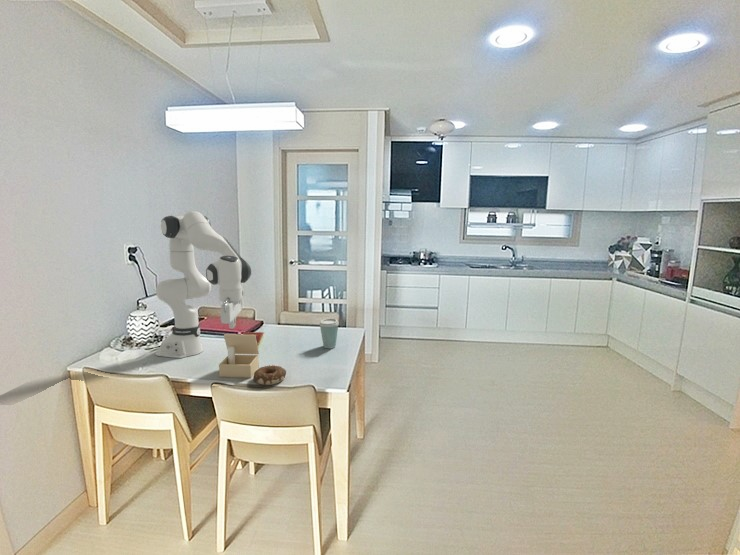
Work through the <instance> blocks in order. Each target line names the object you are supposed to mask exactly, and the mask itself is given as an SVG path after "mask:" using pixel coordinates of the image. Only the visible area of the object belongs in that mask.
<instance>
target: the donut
mask: <svg viewBox="0 0 740 555" xmlns="http://www.w3.org/2000/svg"><path fill="white" fill-rule="evenodd" d="M286 375H287V371H286V369H285V368H283V367H281V366H279V365H273V364H272V365H270V364H269V365H264V366H261V367H260V368H258V369H257V370H256V371H255V373H254V375H253V376H252V377H253V381H254V382H255V383H257V384H259V385H262V386H271V385H277V384H278V383H280V382H282V381H283V380H284V379H286Z"/></svg>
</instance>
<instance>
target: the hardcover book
mask: <svg viewBox="0 0 740 555" xmlns="http://www.w3.org/2000/svg"><path fill="white" fill-rule="evenodd" d="M264 334H265V332H264V331H260V332H258V331H255V332H253V331H252V332H243V333H242V334H241V335H255V336H256V341H257V346H258V351H259V350H260V348H261V345H262V343H263V341H264Z"/></svg>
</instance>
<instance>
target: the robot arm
mask: <svg viewBox="0 0 740 555" xmlns="http://www.w3.org/2000/svg"><path fill="white" fill-rule="evenodd" d="M160 230H161V232H162V234H163V236H164V237H165V238H168V239H169V244H168V245H169V248H168V249H169V262H170V263H169V264H170V267H171V268H172V269H173V270H174V271H176V272H180V273H182V274H183V275H184V277H182V278H180V277H179V278H170V279H166V280H162V281H160V282H158V284H157V285H156V288H155V293H156V296H157V298H158V299H159V300H160V301H161V302H163V303H165V304H167V305H168V306H169V308H170V309H171V311H172V313H173V317H174V318H173V319H174V326H172V327H171V328H170V329H169V330H170V332H172V333H171V334H169V335H168V336H167V337H166V338H164V339H163V340H162V341H161V343H160V348H159V349H158V350H157V351H156V352H155V356H156V357H157V356H158V357H166V358H174V359H183V358H186V357H190V356H192V357H193V356H196V355H198V354H201V353H203V351H204V347H203V344H202V340H201V327H200V323H199V322H200V321H199V311H198V309H197V308H196V307H195V306H192V305H190V304H186V302H185V301H186V300H191V299H192V300H193V299H198V298H199V299H200V298H203V297H206V296H209V294H210V293H211V291H212V285H213V286H219V288H218V292H219V293H218V294H219V301H220V302H222V304H221V305H220V322H221V324H228V327H229V329H231V330H232V329H234V328H235V327H236V320H237V316H238V315H239V314H240V313H241V312H242V309H243V296H244V291H243V287H242V284H245V283H247V282H248V281H249V279H250V278H251V275H252V268H251V266H250V265H249V263H248V262H247V261H246V260H245V259H243V257H242V256H241V255H240V254H239V253H238V252H237V250H236V249H235V248H234V247H233V245H232V243H231V242H229V241H228V240H227V239H226V238H225V237H224V236H222V235H220V234H219V233H218V232H216V231H215V229H213V228H212V225H211V221H210V219H209V217H207V216H205V215H203V214H202V213H201V212H199V211H196V210H191V211H188V212H186V213H185V214H184V215H183V214H181V215H179V214H178V215H167V216H164V217H163V218H162V219H161V223H160ZM195 248H196V249H198V250H202V251H209V252H214V253H217V254H218V253H219V254H221V255H222V256H220V257H219V258H218V260H217V261H216V262H212V263H209V264H208V266H207V268H206V269H205V276H204V275H203V274H202V273H201V272H200V271H199V268H198V267H197V265H196V258H195Z"/></svg>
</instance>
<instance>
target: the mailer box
mask: <svg viewBox="0 0 740 555" xmlns="http://www.w3.org/2000/svg"><path fill="white" fill-rule="evenodd" d="M259 360H260V359H259V354H235V347H234V346H229V347H228V350H227V356H226V357H225V358H223V360H222V361H221V362H220V363H219V364H218V369H219V370H218V371H219V373H218V374H219V378H232V379H235V378H236V379H238V378H239V379H240V378H241V379H252V377H254V373H255V371H256V370H258V369H259V367H260V364H259V363H260V362H259Z"/></svg>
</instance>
